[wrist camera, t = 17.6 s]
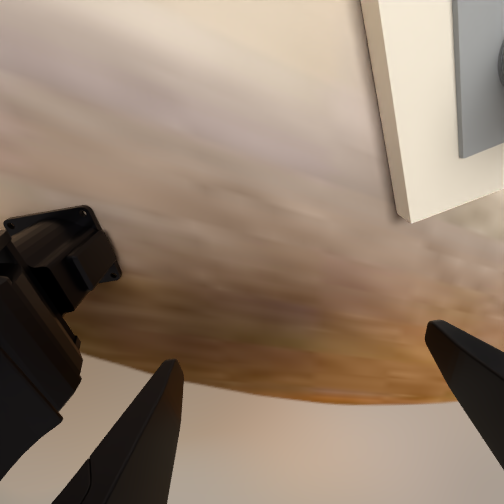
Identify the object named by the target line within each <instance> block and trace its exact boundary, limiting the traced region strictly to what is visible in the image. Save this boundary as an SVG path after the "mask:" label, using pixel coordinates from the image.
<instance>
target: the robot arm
mask: <svg viewBox="0 0 504 504" xmlns="http://www.w3.org/2000/svg"><path fill="white" fill-rule="evenodd" d="M82 210H83V211H85V212H86V214H87V215H85V214H83V213H82ZM11 223H12V224H13V225H14V226H15V227H14V226H13V225H12V224H11ZM3 225H4V227H5V229H6V230H1V231H0V481H1V479H2V478H3V477H4V476H5V475H6V473H7V472H8V471H9V470H10V468H11V467H12V466H13V465H14V464H15V463H16V462H17V460H18V459H19V458H20V457H21V456H22V455H23V454H24V453H25V452H26V451H27V450H28V449H29V448H30V447H31V446H32V445H33V444H35V443H36V442H37V441H38V440H39V439H40V438H41V437H42V436H44V435H45V434H46V433H48V432H49V431H50V430H52V429H53V428H54V427H56V426H57V425H58V424H60V423H61V422H62V420H63V417H62V416H61V415H60V414H59V411H60V410H61V408H62V407H63V406H64V405H65V403H66V402H67V401H68V400H69V399H70V397H71V396H72V395H73V394H74V392H75V391H76V389H77V387H78V385H79V384H80V382H81V379H82V378H81V376H80V372H81V367H82V362H83V359H82V356H81V354H80V351H79V348H80V344H81V341H80V340H79V338H78V337H77V336H75V335H74V334H73V332H72V331H71V329H70V328H69V326H68V325H67V323H66V322H65V321H64V319H63V318H62V317H63V316H64V315H65V314H66V313H67V312H72V311H74V310H75V309H76V307H77V306H78V305H79V304H80V302H81V301H82V300H83V298H84V297H85V296H86V295H87V293H88V292H89V291H92V290H93V289H94V288H95V287H96V285H97V284H98V283H103V282H109V281H115V280H118V279H119V278H120V277H121V275H122V273H121V270H120V268H119V266H118V264H117V262H116V257H115V255H114V253H113V251H112V248H111V246H110V244H109V242H108V240H107V238H106V236H105V234H104V232H103V231H102V230H101V228H100V226H99V224H98V222H97V220H96V218H95V216H94V214H93V211H92V210H91V208H90V207H88V206H86V205H81V206H75V207H70V208H64V209H58V210H52V211H47V212H41V213H35V214H29V215H24V216H18V217H12V218H9V219H7V220H5V221H4V224H3ZM113 273H115V274H116V275H114V274H113ZM425 342H426V345H427V347H428V349H429V351H430V352H431V354H432V356H433V358H434V360H435V362H436V364H437V366H438V368H439V369H440V371H441V373H442V375H443V377H444V379H445V381H446V382H447V384H448V386H449V388H450V389H451V391H452V392H453V394H454V395H455V397H456V398H457V400H458V401H459V403H460V404H461V406H462V407H463V409H464V411H465V412H466V414H467V415H468V417H469V418H470V420H471V421H472V423H473V424H474V426H475V427H476V429H477V430H478V432H479V433H480V435H481V436H482V438H483V439H484V441H485V442H486V444H487V445H488V447H489V448H490V450H491V451H492V453H493V454H494V456H495V457H496V459H497V460H498V462H499V463H500V465H501V466H502V468H503V469H504V352H502V351H501V350H499V349H497V348H495V347H493V346H491V345H489V344H487V343H485V342H484V341H482V340H480V339H478V338H476V337H474V336H472V335H470V334H468V333H466V332H465V331H463V330H461V329H459V328H457V327H455V326H453V325H451V324H449V323H447V322H446V321H443V320H434V321H429V323H428V325H427V329H426V334H425ZM183 384H184V375H183V371H182V369H181V367H180V365H179V362H178V360H177V359H168V360H165V361H164V362H163V363H162V364H161V366H160V367H159V368H158V370H157V371H156V372H155V373H154V375H153V376H152V377H151V379H150V380H149V381H148V382H147V384H146V385H145V386H144V387H143V389H142V390H141V391H140V393H139V394H138V395H137V396H136V398H135V399H134V400H133V402H132V403H131V404H130V405H129V407H128V408H127V409H126V411H125V412H124V413H123V414H122V416H121V417H120V418H119V420H118V421H117V422H116V423H115V425H114V426H113V427H112V428H111V430H110V431H109V432H108V434H107V435H106V436H105V437H104V439H103V440H102V441H101V443H100V444H99V446H98V447H97V448H96V449H95V450H94V452H93V453H92V454H91V455H90V459H87V460H86V462H85V463H84V464H83V466H82V467H81V468H80V469H79V471H78V472H77V473H76V474H75V476H74V477H73V478H72V479H71V481H70V482H69V483H68V484H67V486H66V487H65V488H64V489H63V491H62V492H61V493H60V494H59V495H58V496H57V498H56V499H55V500H54V501H53V502H52V504H167V500H168V494H169V488H170V482H171V477H172V471H173V465H174V460H175V454H176V448H177V442H178V437H179V431H180V424H181V412H182V398H183Z"/></svg>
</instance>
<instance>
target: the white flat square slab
mask: <svg viewBox="0 0 504 504" xmlns="http://www.w3.org/2000/svg"><path fill="white" fill-rule="evenodd" d="M360 1H361V7H362V13H363V18H364V24H365V30H366V36H367V42H368V47H369V53H370V59H371V65H372V71H373V76H374V82H375V88H376V94H377V100H378V105H379V111H380V117H381V123H382V129H383V134H384V140H385V146H386V152H387V158H388V163H389V169H390V175H391V181H392V187H393V192H394V198H395V204H396V210H397V214H398V215H400V216H401V217H402V218H404V219H405V220H407V221H408V222H409V223H411V224H412V223H415V222H417V221H420V220H423V219H425V218H428V217H431V216H433V215H436V214H439V213H441V212H444V211H447V210H449V209H452V208H454V207H457V206H460V205H462V204H465V203H468V202H470V201H473V200H476V199H478V198H481V197H484V196H486V195H489V194H492V193H494V192H497V191H500V190H502V189H504V87H503V85H502V83H501V81H500V78H499V73H498V59H499V53H500V49H501V46H502V42H503V40H504V0H360Z"/></svg>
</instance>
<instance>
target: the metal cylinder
mask: <svg viewBox="0 0 504 504" xmlns="http://www.w3.org/2000/svg"><path fill="white" fill-rule="evenodd" d="M498 73H499V78H500V81H501V83H502V85H503V87H504V40H503V42H502V46H501V49H500V53H499V59H498Z"/></svg>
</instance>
